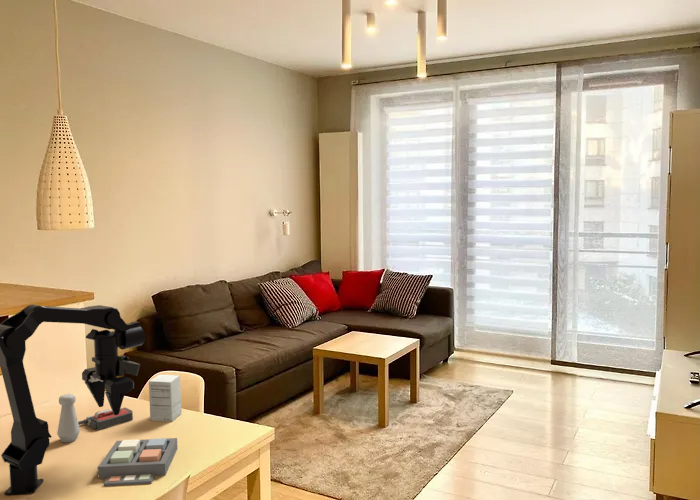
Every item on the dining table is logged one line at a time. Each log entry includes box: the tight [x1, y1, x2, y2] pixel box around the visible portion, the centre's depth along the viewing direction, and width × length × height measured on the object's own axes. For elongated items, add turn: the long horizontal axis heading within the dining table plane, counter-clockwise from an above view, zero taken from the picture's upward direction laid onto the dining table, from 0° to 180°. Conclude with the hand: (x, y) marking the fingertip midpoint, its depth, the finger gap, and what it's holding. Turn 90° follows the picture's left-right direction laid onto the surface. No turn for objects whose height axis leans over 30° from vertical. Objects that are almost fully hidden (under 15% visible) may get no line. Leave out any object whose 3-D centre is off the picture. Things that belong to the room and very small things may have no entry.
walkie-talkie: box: [78, 407, 134, 431], centre depth 182 cm, size 9×4×20 cm
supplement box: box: [148, 374, 182, 422], centre depth 188 cm, size 7×7×13 cm
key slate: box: [146, 437, 167, 450], centre depth 159 cm, size 4×4×2 cm
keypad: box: [97, 437, 178, 487], centre depth 153 cm, size 20×16×3 cm
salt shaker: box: [56, 393, 81, 444], centre depth 170 cm, size 6×6×13 cm
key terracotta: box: [139, 449, 161, 462], centre depth 152 cm, size 4×4×2 cm
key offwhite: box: [118, 439, 141, 451], centre depth 158 cm, size 4×4×2 cm
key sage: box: [110, 450, 133, 464], centre depth 151 cm, size 4×4×2 cm
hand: (108, 410), depth 160 cm, fingers open, 9 cm apart
